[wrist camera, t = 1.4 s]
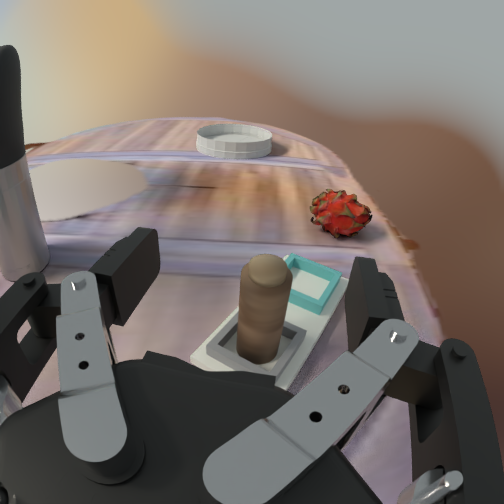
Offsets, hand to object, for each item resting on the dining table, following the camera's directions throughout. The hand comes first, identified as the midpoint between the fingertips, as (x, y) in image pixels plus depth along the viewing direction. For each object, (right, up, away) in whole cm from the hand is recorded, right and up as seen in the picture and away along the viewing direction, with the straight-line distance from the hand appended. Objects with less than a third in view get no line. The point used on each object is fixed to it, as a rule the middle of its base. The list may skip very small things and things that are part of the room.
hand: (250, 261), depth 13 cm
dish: (-5, +31, +80) cm, 86 cm away
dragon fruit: (+15, +4, +44) cm, 47 cm away
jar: (+1, -10, +20) cm, 23 cm away
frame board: (+4, -8, +26) cm, 27 cm away
